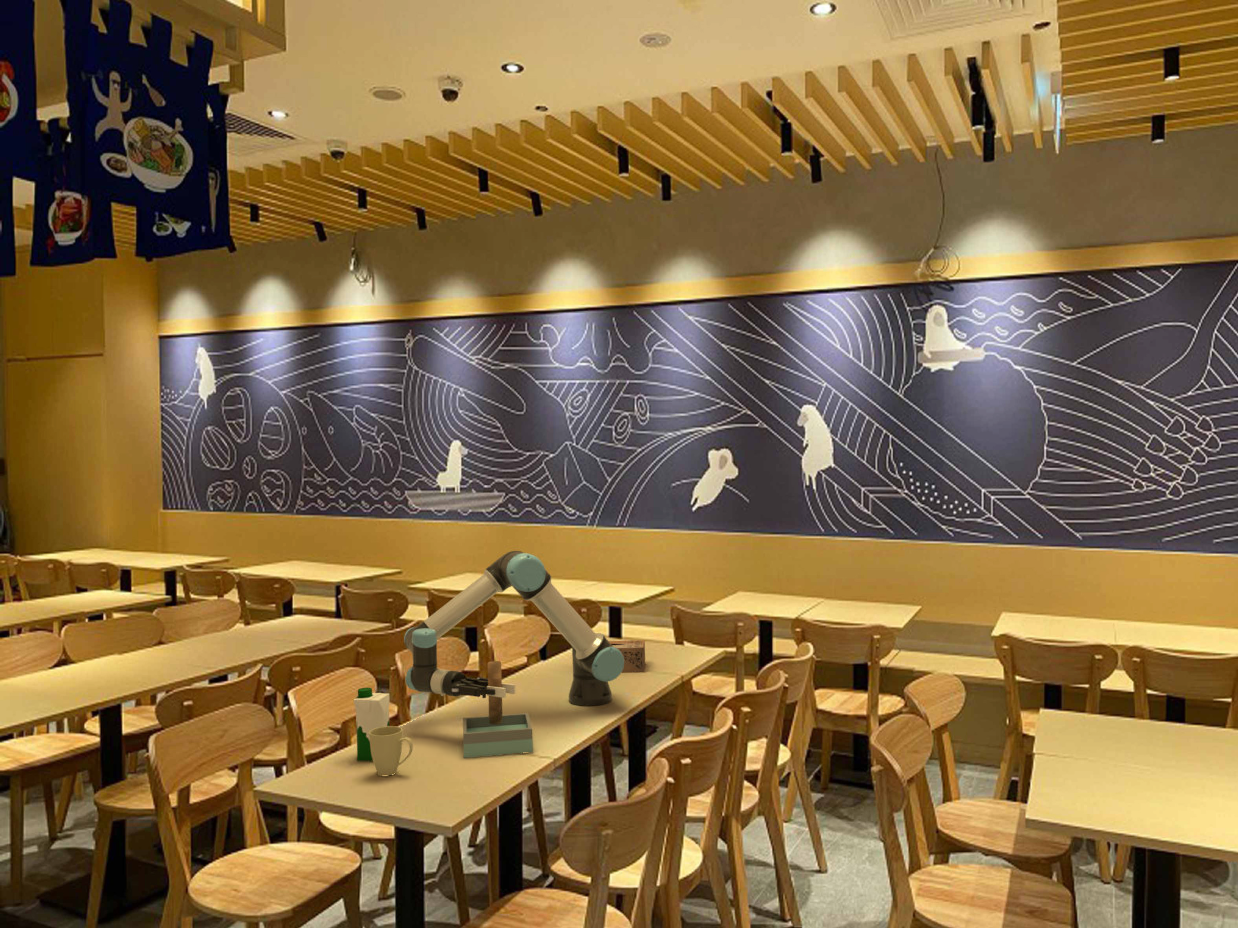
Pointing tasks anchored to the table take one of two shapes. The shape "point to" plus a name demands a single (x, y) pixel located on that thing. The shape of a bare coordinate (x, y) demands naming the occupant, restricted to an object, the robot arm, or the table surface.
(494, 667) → the peg
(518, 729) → the box
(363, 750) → the milk carton
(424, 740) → the table surface
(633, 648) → the tissue box cover
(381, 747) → the mug
